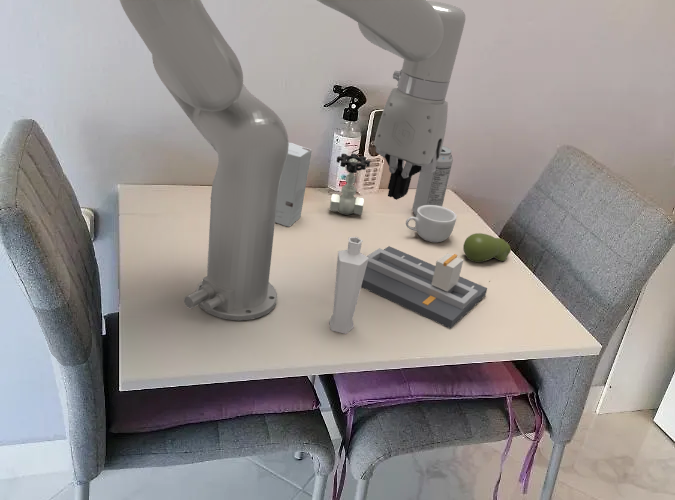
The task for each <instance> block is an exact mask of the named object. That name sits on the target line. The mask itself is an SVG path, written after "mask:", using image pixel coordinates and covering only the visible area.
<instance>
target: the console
mask: <svg viewBox="0 0 675 500" xmlns="http://www.w3.org/2000/svg"><path fill="white" fill-rule="evenodd" d="M366 256H367V257H368V258H369V259H368V263H367V266H366V270H365V274H364V278H363V282H362V285H361V288H363V289H365V290H368V291H369V292H371V293H374V294H376V295H378V296H380V297H382V298H384V299H387V300H389V301H391V302H393V303H394V304H397V305H400V306H401V307H404V308H405V309H407V310H409V311H413V312H414V313H416V314H418V315H421V316H423V317H425V318H427V319H430V321H431V320H432V321H433V322H435V323H438V324H440V325H442V326H444V327H447V328H448V329H452V328H453V327H454V326H455V325H456V324H457V323H458V322H459V321H460V320H461V319H462V318H463V317H464V316H465V315H467V313H469V311H471V310H472V309H473V308H474V307H475V306H476V305H477V304H478V303H479V302H480V301H481V300H482V299H484V298H485V297H486V296H487V295H486V294H487V292H488V287H485V286H483V285H481V284H478V283H476V282H474V281H471V280H470V279H467V278H465V277H463V276H459V280H458V283H457V284H456V285H455V287H454V290H453V291H452V292H451V293H449V292H446V291H444V290H442V289H439V288H437V287H435V286H433V285H431V284H432V279H433V275H434V271H435V267H436V265H434V264H432V263H430V262H427V261H425V260H422V259H420V258H418V257H415V256H413V255H411V254H409V253H406V252H404V251H401V250H399V249H397V248H394V247H392V246H390V245H388V246H387V247H385V248H384V249H383V248H380V247H379V248H377V249H376V250H374V251H373V252H371V253H369V254H368V255H366Z"/></svg>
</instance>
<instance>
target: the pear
mask: <svg viewBox="0 0 675 500" xmlns="http://www.w3.org/2000/svg"><path fill="white" fill-rule="evenodd" d="M462 249H463V250H462V251H463V253H464V255H465V256H466V258H467V259H469V260H470V261H472V262H476V263H481V262H484V261H488V260H491V259H492V258H495V259H497V260H498V261H500V262H501V261H502V262H503V261H504V260H505V261H506V260H507V259H508V256H509V254H510V253H511V251H512V249H511V245H510V244H509V243H508V242H507V241H506V240H504V239H503V238H501V237H495V236H492V235H491V234H490V235H489V234H487V233H481V232H478V233H477V232H476V233H472V234H470V235H469V236H468V237H467V238H466V239H465V240H464V242H463V248H462Z"/></svg>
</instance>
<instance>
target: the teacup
mask: <svg viewBox="0 0 675 500" xmlns="http://www.w3.org/2000/svg"><path fill="white" fill-rule="evenodd" d="M457 218H458V217H457V213H456V212H454V211H453V210H452V209H450V208H448V207H445V206H443V205H442V206H437V205H423V206H420V207H419V208H418V209H417V214H416V216H410V217H408V218H407V219H406V220H405V226H406V228H407V229H409V230H411V231H413V232H417V234H418V236H419V237H420V238H421V239H423V240H424V241H426V242H430V243H440V242H441V243H442V242H444V241H446V240H447V239H448V238H449V237H450V236H451V235H452V234H453V233H452V232H453V231H454V227H455V224H456V221H457ZM411 220H413V221H414V222H415V224H414V225H415V226H413V227H412V226H409V223H410V221H411Z"/></svg>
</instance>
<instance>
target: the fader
mask: <svg viewBox="0 0 675 500" xmlns="http://www.w3.org/2000/svg"><path fill="white" fill-rule="evenodd" d="M463 263H464V259H463V258H461V257H458V255H457V254H456V253H454V254H451V253H448V252H447V253H446V254H444V255H443V256H442V257H441V258H439V259H438V260H437V261H436V262H435V266H436V267H435V271H434V275H433V279H432V284H431V285H433V286H435V287H437V288H439V289H442V290H444V291H446V292H449V293H451V292H452V291H453V290H454V287H455V285H456V284H457V283H458V280H459V276H460V274H461V271H462V267H463ZM460 277H461V276H460Z"/></svg>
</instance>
